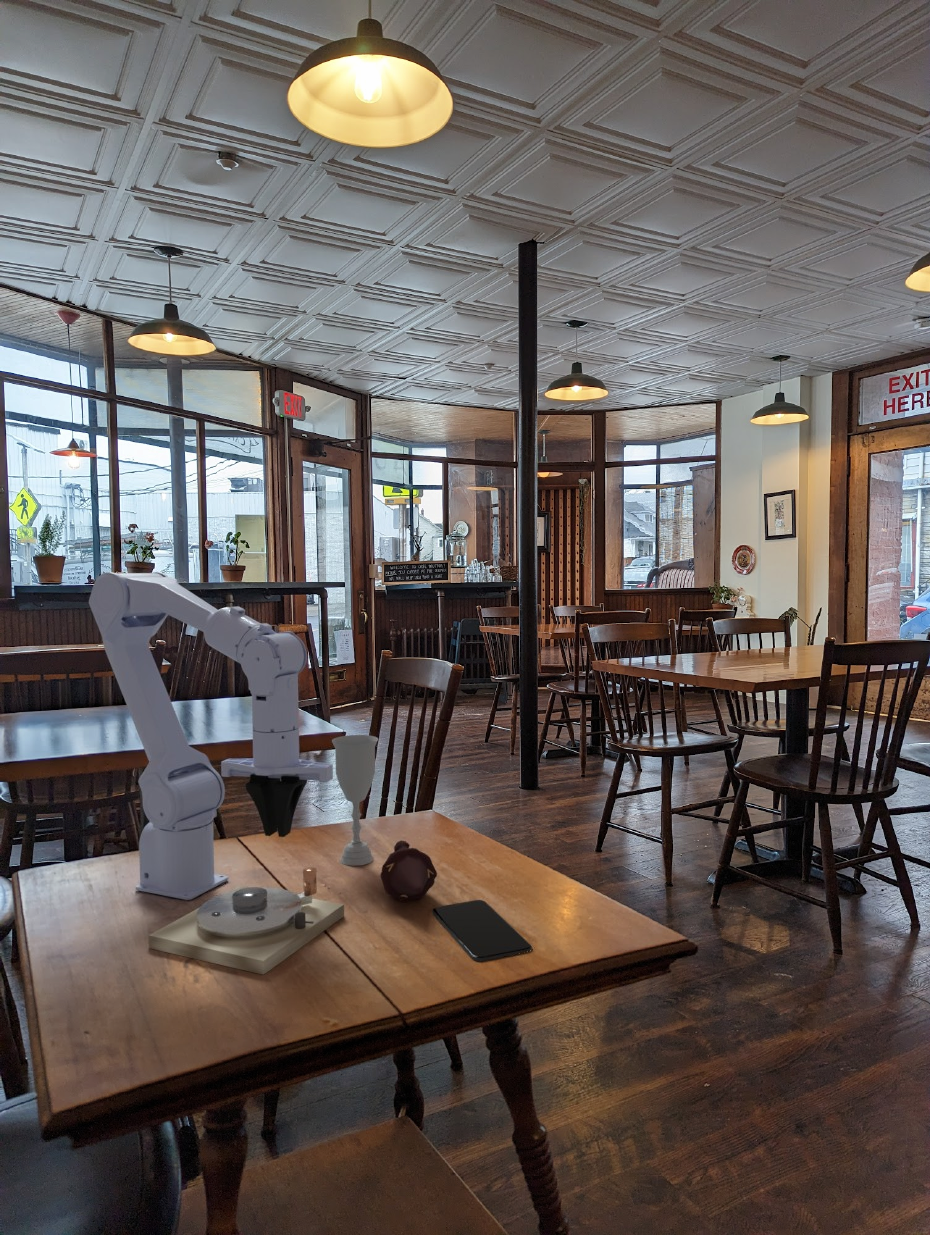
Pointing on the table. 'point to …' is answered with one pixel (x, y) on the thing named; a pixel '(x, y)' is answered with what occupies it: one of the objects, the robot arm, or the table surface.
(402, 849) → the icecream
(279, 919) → the grey turntable
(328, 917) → the post base
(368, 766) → the chalice
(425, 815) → the table surface
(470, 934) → the smartphone
